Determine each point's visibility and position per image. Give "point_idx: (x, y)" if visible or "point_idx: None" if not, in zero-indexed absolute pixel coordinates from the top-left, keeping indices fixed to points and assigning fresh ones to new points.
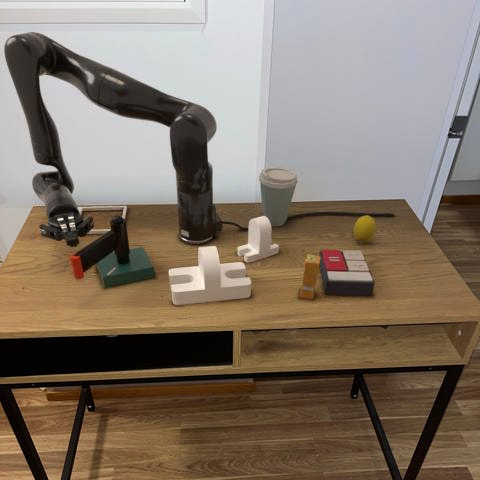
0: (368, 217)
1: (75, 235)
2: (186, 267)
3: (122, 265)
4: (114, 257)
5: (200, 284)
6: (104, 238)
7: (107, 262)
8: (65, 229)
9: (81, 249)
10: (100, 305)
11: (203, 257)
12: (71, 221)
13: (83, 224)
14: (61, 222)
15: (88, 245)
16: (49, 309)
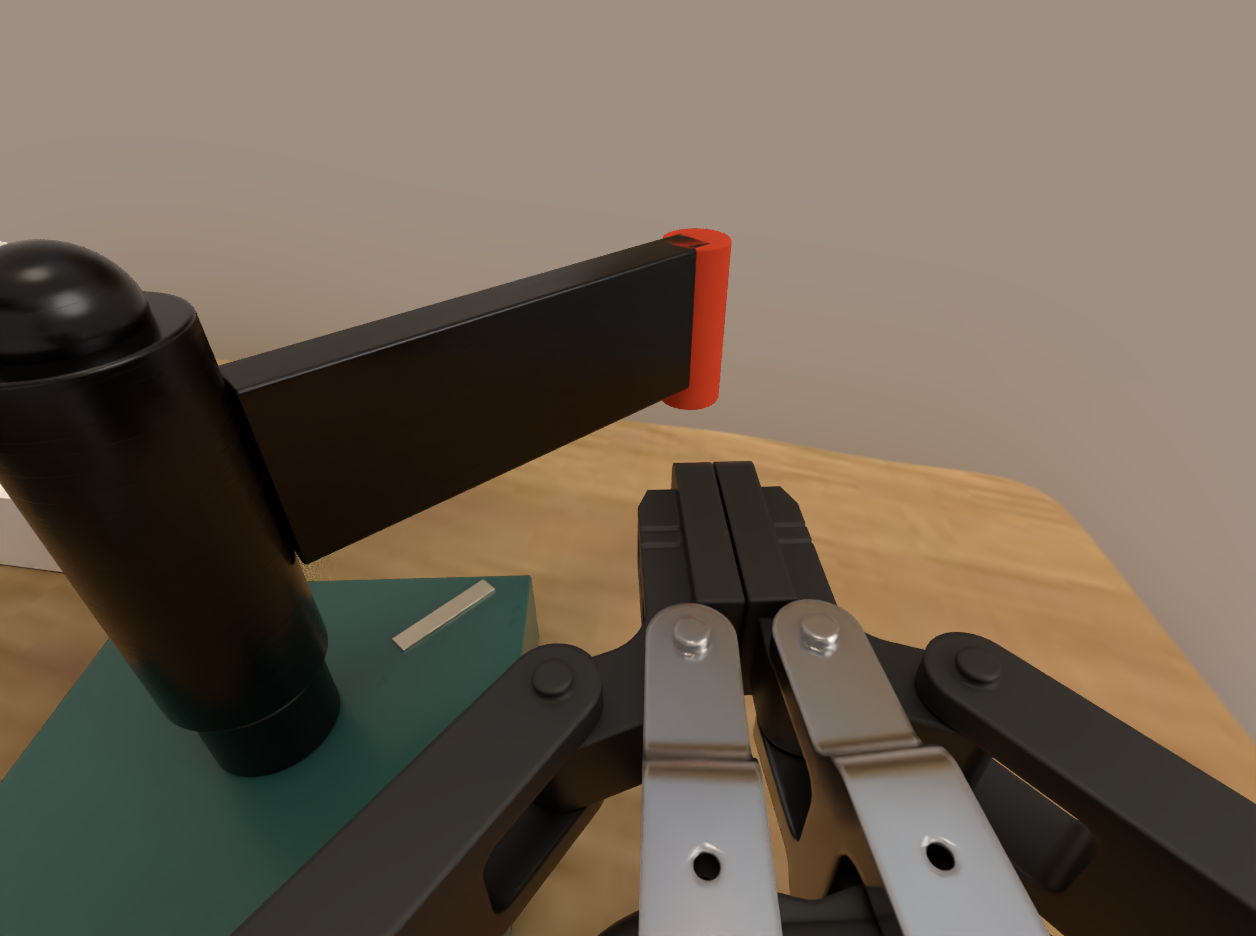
0: None
1: (669, 549)
2: (5, 494)
3: (328, 664)
4: (310, 814)
5: None
6: (402, 314)
7: (417, 745)
8: (822, 635)
9: (639, 266)
10: (603, 516)
11: (2, 242)
12: (711, 881)
13: (475, 749)
14: (966, 881)
15: (574, 281)
16: (872, 552)
